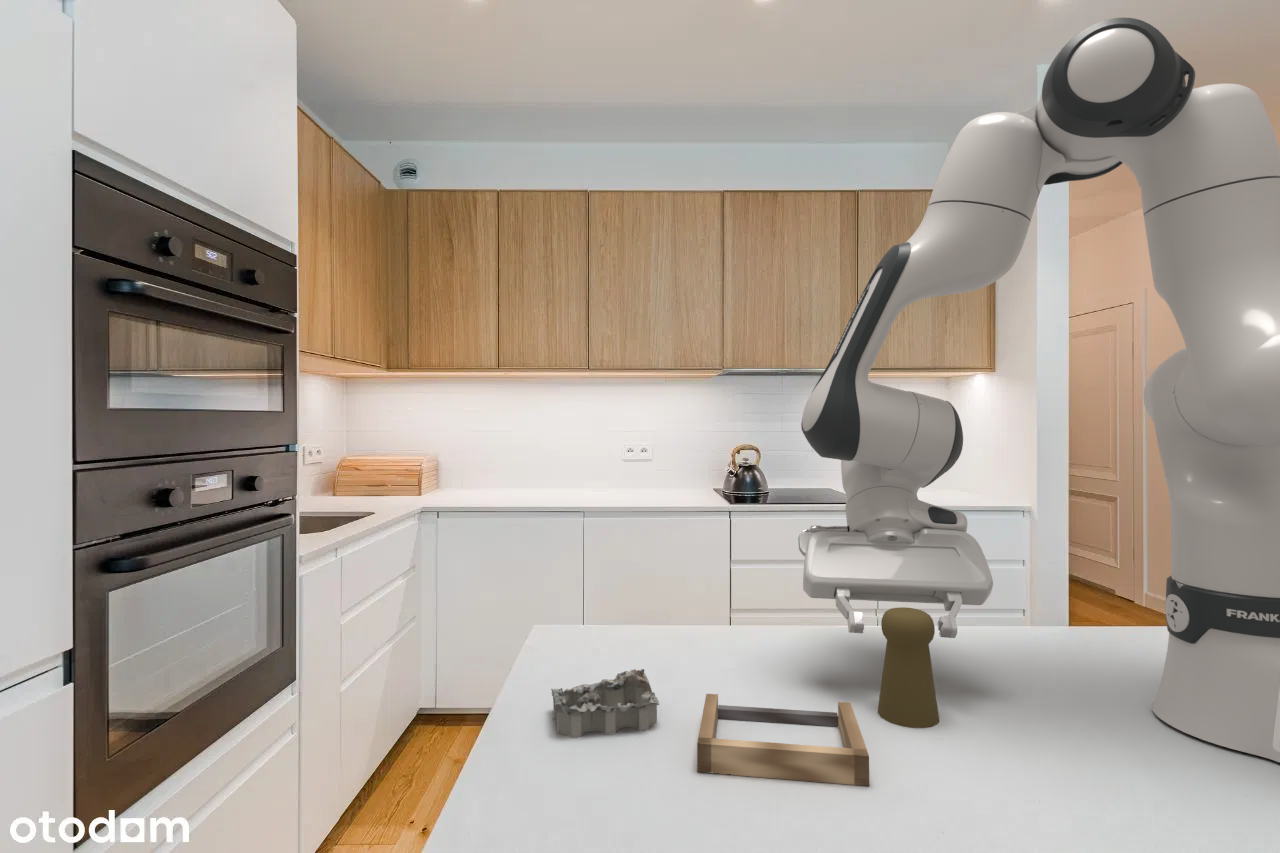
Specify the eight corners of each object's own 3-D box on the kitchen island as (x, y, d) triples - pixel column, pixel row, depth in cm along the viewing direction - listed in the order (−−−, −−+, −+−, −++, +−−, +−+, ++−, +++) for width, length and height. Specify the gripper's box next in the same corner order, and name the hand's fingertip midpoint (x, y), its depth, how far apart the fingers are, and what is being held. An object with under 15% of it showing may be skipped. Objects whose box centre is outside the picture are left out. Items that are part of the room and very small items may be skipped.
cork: (945, 730, 67) (945, 619, 67) (881, 725, 68) (881, 616, 68) (932, 705, 73) (932, 603, 73) (873, 701, 74) (873, 601, 74)
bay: (849, 723, 69) (849, 698, 69) (869, 786, 57) (869, 756, 57) (707, 713, 71) (707, 689, 71) (697, 772, 59) (697, 743, 59)
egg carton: (648, 704, 75) (648, 667, 75) (662, 734, 67) (662, 693, 67) (550, 710, 73) (550, 672, 73) (554, 742, 65) (554, 700, 65)
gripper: (798, 510, 82) (804, 613, 72) (980, 514, 79) (1011, 622, 69) (796, 540, 86) (801, 641, 77) (968, 546, 83) (995, 652, 73)
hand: (902, 633), depth 73 cm, fingers open, 8 cm apart
